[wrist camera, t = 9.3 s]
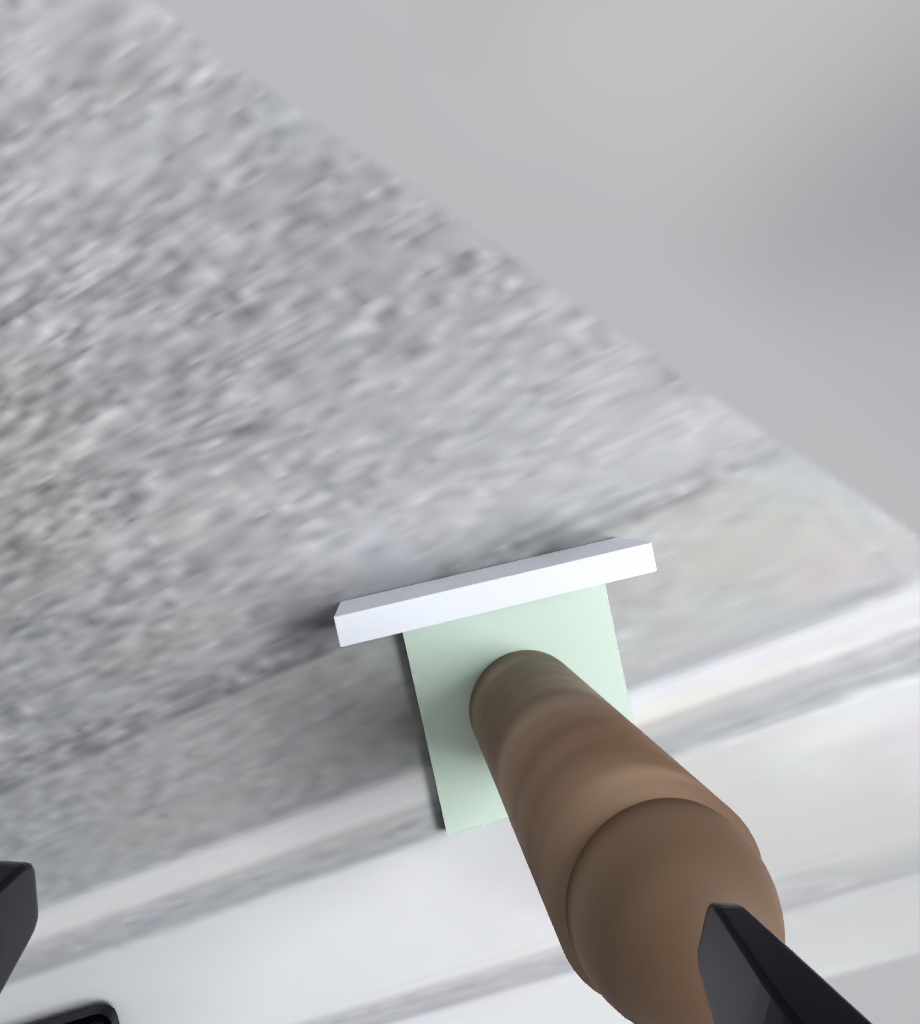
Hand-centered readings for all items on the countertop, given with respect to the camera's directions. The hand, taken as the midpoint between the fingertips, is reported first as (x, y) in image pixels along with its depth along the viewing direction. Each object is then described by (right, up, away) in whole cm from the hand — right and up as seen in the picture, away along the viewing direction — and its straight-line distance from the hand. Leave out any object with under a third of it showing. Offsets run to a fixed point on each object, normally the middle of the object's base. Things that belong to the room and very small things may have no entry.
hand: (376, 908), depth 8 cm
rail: (+2, +3, +15) cm, 15 cm away
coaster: (+4, -2, +15) cm, 16 cm away
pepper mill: (+4, -2, +15) cm, 15 cm away
